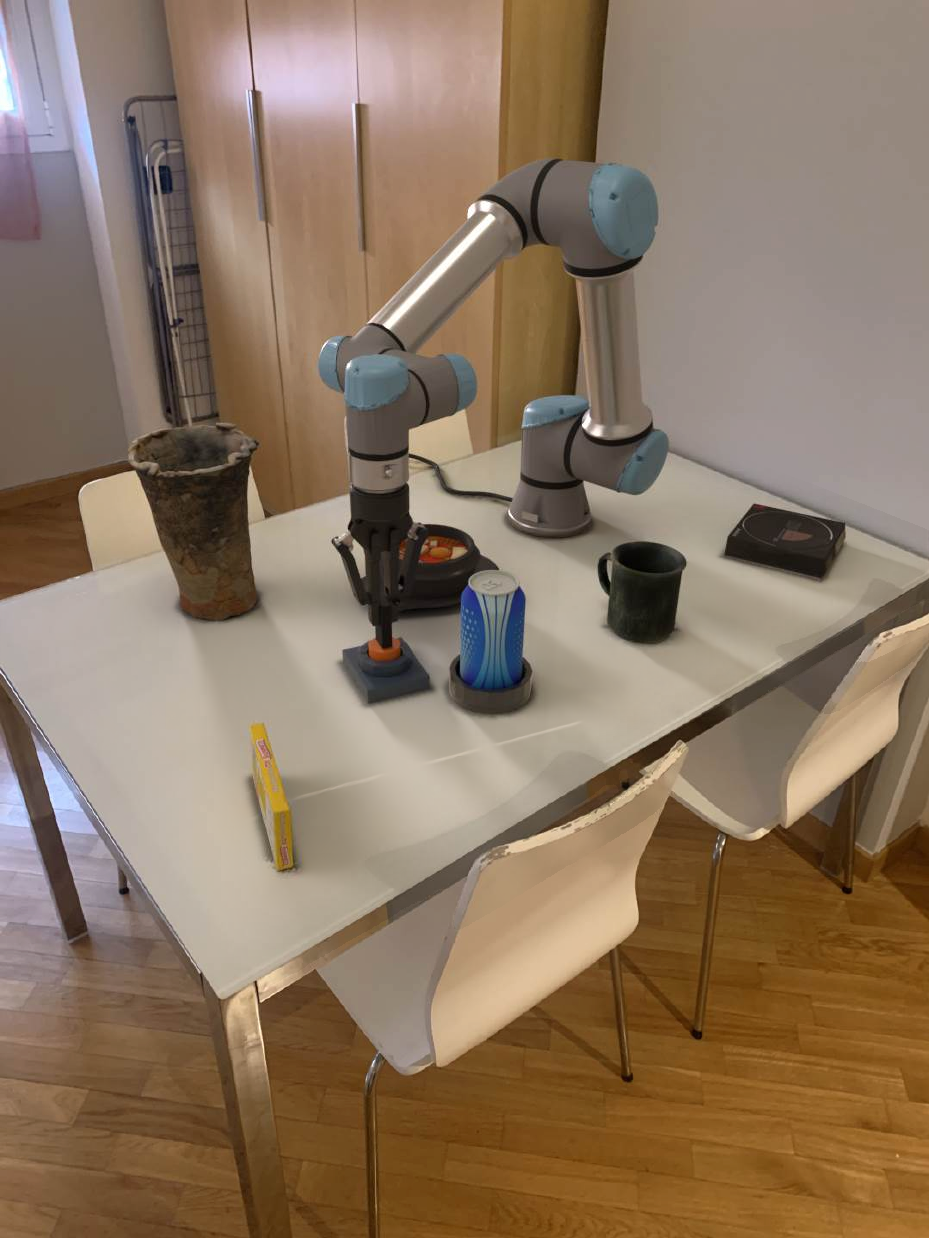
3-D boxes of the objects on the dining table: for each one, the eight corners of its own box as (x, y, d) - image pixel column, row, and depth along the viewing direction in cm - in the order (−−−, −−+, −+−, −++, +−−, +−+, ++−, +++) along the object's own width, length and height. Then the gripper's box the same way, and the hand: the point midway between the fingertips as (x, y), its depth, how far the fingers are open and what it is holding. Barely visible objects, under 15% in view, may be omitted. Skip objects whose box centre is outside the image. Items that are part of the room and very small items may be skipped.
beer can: (457, 668, 137) (459, 567, 129) (517, 666, 138) (522, 565, 130) (462, 702, 130) (464, 598, 122) (524, 700, 131) (530, 596, 123)
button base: (342, 662, 140) (341, 638, 138) (401, 649, 143) (401, 626, 141) (368, 703, 131) (367, 679, 129) (430, 689, 134) (429, 664, 132)
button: (364, 650, 136) (364, 639, 135) (394, 643, 138) (393, 633, 137) (375, 665, 133) (374, 655, 132) (405, 659, 134) (405, 648, 134)
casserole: (393, 636, 146) (391, 587, 142) (332, 587, 159) (329, 541, 155) (523, 591, 159) (525, 545, 155) (457, 548, 172) (458, 505, 168)
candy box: (296, 867, 105) (290, 809, 101) (276, 872, 104) (270, 813, 100) (270, 775, 118) (264, 720, 114) (252, 779, 118) (245, 724, 113)
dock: (436, 678, 137) (436, 657, 135) (508, 661, 141) (509, 640, 139) (469, 722, 128) (470, 700, 126) (544, 703, 132) (546, 681, 130)
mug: (646, 654, 143) (655, 582, 137) (572, 616, 152) (578, 547, 146) (691, 629, 149) (702, 559, 143) (618, 594, 158) (625, 527, 152)
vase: (288, 612, 152) (272, 449, 138) (171, 642, 144) (142, 472, 130) (250, 565, 165) (233, 412, 151) (141, 590, 157) (112, 431, 144)
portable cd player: (824, 581, 163) (828, 559, 161) (724, 556, 171) (727, 536, 169) (844, 544, 176) (848, 523, 174) (750, 522, 183) (753, 503, 181)
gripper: (338, 502, 117) (347, 666, 129) (438, 486, 122) (438, 646, 134) (320, 479, 123) (330, 639, 135) (416, 465, 128) (417, 620, 140)
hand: (384, 642), depth 134 cm, fingers closed
